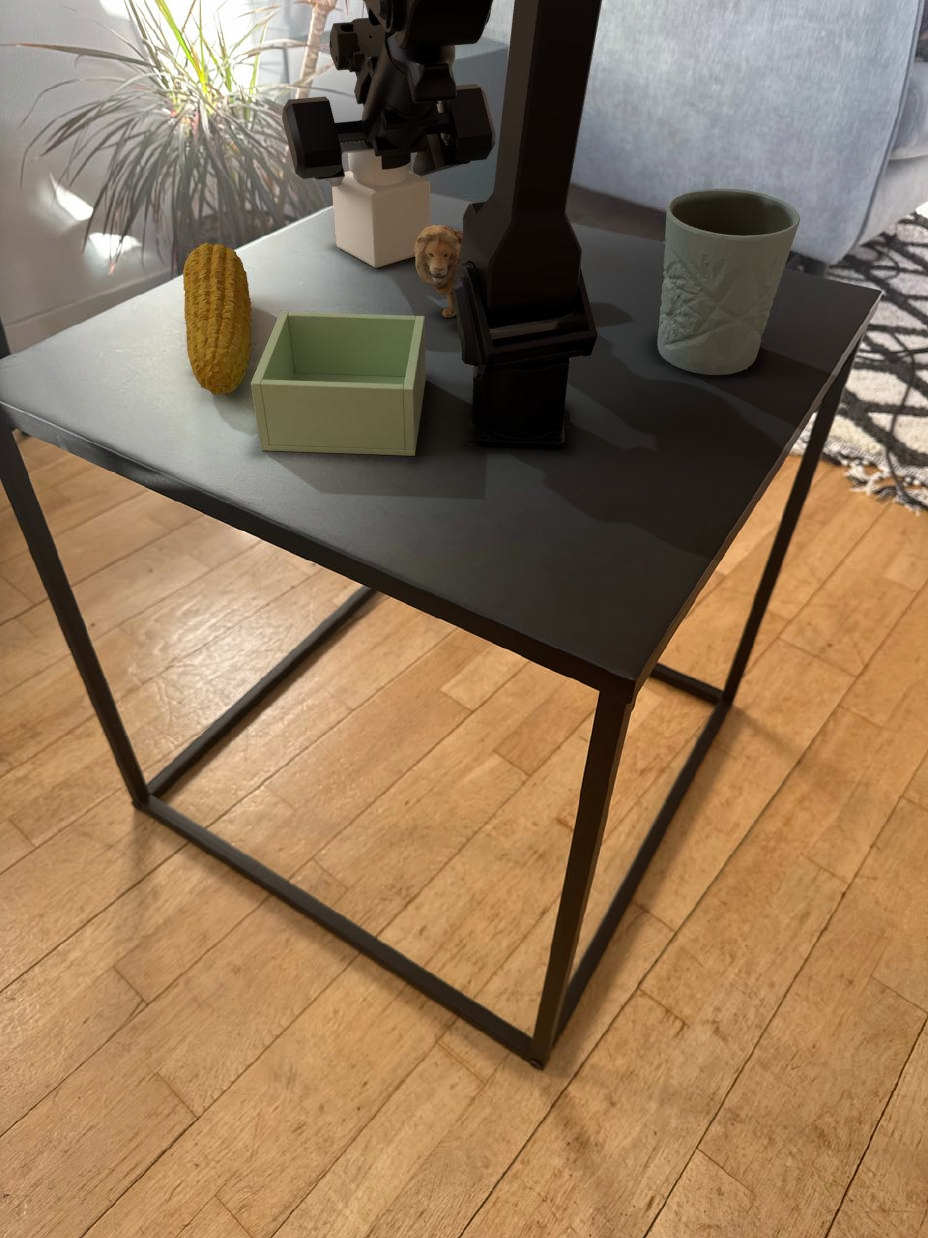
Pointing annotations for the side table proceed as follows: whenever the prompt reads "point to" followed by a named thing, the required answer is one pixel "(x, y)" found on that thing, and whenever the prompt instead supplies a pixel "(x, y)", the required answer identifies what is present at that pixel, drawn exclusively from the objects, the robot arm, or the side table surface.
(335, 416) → the bin
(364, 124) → the robot arm
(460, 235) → the lion figurine
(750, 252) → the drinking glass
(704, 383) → the side table surface
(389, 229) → the medicine bottle
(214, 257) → the food
